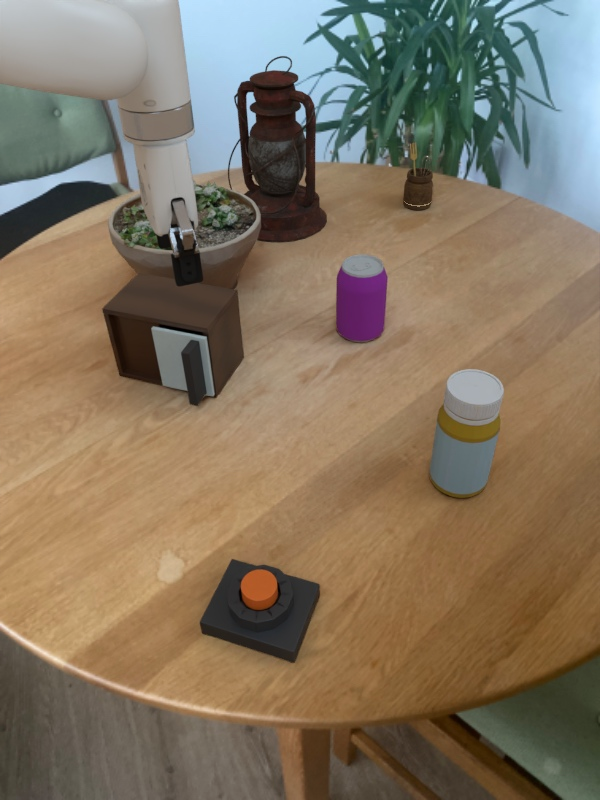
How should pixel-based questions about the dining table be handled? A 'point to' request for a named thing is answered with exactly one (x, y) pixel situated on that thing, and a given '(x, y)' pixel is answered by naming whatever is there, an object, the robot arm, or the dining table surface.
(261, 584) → the button
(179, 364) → the door
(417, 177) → the utensil holder
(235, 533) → the dining table surface
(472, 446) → the bottle
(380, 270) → the beverage can
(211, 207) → the planter
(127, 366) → the cabinet
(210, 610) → the switch box
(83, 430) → the dining table surface
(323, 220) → the lantern
